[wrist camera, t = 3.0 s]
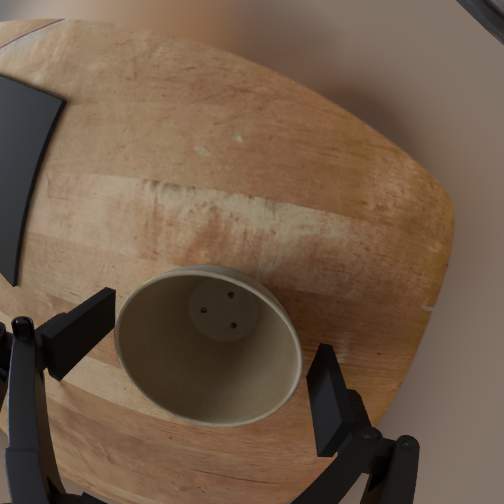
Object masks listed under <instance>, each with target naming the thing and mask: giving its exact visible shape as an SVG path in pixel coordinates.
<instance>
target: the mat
mask: <svg viewBox="0 0 504 504" xmlns="http://www.w3.org/2000/svg"><path fill="white" fill-rule="evenodd" d="M65 104H66V101H65V100H62V99H60V98H57V97H55V96H53V95H50V94H48V93H45V92H43V91H40V90H38V89H35V88H33V87H30V86H27V85H25V84H22V83H20V82H17V81H14V80H11V79H9V78H6V77H3V76H0V273H1V274H2V275H3V276H4V278H5V279H6V280H7V281H8V282H9V283H10V284H11V285H12V286H13V287H15V286H16V285H17V274H18V265H19V257H20V250H21V244H22V238H23V232H24V227H25V222H26V217H27V213H28V208H29V204H30V200H31V196H32V192H33V189H34V185H35V182H36V178H37V175H38V172H39V169H40V166H41V163H42V160H43V157H44V154H45V151H46V148H47V146H48V143H49V140H50V138H51V135H52V133H53V130H54V128H55V126H56V123H57V121H58V119H59V117H60V114H61V112H62V110H63V108H64V106H65Z"/></svg>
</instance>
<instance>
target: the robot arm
mask: <svg viewBox="0 0 504 504" xmlns="http://www.w3.org/2000/svg"><path fill="white" fill-rule="evenodd" d="M484 1H485V2H486V3H487V4H488V5H489V6H490V7H491V8H492V9H493V10H495V11H496V12H497V13H498V14H499V15H500V16H501V17H502V18H504V0H484ZM115 298H116V290H113V289H111V288H108V287H105V288H104V289H102V290H101V291H99V292H98V293H96V294H95V295H93V296H92V297H90V298H89V299H87V300H86V301H84V302H83V303H82V304H80V305H79V306H77V307H76V308H74V309H73V310H71V311H70V312H68V313H65V312H64V313H60V314H57V315H55V316H54V317H52V318H51V319H49V320H48V321H47V322H45V323H44V324H42V325H41V326H39V327H38V328H37V329H35V330H34V324H33V320H32V319H31V318H29V317H25V316H20V317H16V318H15V319H13V320H12V322H11V325H12V330H13V334H12V333H9V332H7V331H6V327H5V324H4V323H2V322H0V411H1V408H2V405H3V401H4V398H5V395H6V392H7V389H8V405H7V422H8V443H9V447H8V448H6V449H5V450H4V459H5V467H6V475H7V482H8V488H9V493H10V498H11V503H3V504H107V503H105V502H103V501H101V500H99V499H97V498H95V497H93V496H91V495H89V494H87V493H85V492H83V494H82V495H81V496H80V495H76V494H68V493H66V491H65V489H64V487H63V484H62V482H61V479H60V476H59V472H58V468H57V464H56V460H55V455H54V450H53V445H52V440H51V434H50V428H49V421H48V413H47V404H46V393H45V377H44V372H43V370H44V369H45V368H48V372H49V375H50V376H51V377H53V378H55V379H56V380H58V381H61V380H62V379H63V377H64V376H65V375H66V374H67V373H68V372H69V371H70V370H71V369H72V368H73V367H74V366H75V365H76V364H77V363H78V362H79V361H80V360H81V359H82V358H83V357H84V356H85V355H86V354H87V353H88V352H89V351H90V350H91V349H92V348H93V347H94V346H95V345H97V344H98V343H99V342H100V341H101V340H102V339H103V338H104V337H105V336H106V335H107V334H108V333H109V332H110V331H111V330H112V329H113V328H114V327H115ZM306 379H307V386H308V392H309V399H310V406H311V412H312V419H313V426H314V434H315V441H316V449H317V457H333V455H334V454H335V453H336V452H338V456H337V457H336V458H335V460H334V461H333V462H332V463H331V464H330V465H329V466H328V467H327V468H326V469H325V471H324V472H323V473H322V474H321V475H320V476H319V477H318V478H317V479H316V480H315V481H314V482H313V483H312V484H311V485H310V486H309V487H308V488H307V489H306V490H305V491H304V492H303V493H301V494H300V495H299V496H298V497H297V498H296V499H295V500H294V501H293V502H292V503H291V504H338V503H339V502H340V501H341V499H342V498H343V497H344V496H345V495H346V493H347V492H348V491H349V489H350V488H351V487H352V486H353V484H354V483H355V482H356V480H357V479H358V477H359V476H360V475H361V473H366V474H369V478H368V481H367V484H366V487H365V490H364V493H363V496H362V499H361V501H360V504H413V499H414V493H415V486H416V479H417V471H418V461H419V449H420V447H419V443H418V441H417V440H416V439H415V438H414V437H412V436H409V435H403V436H400V437H399V438H398V439H397V441H395V440H390V439H386V438H383V436H382V434H381V432H380V431H379V430H377V429H376V428H374V427H372V426H371V423H370V420H369V417H368V415H367V412H366V409H365V406H364V404H363V401H362V398H361V396H360V395H359V394H358V392H357V391H356V390H352V389H347V388H346V385H345V382H344V379H343V376H342V373H341V370H340V367H339V364H338V361H337V358H336V355H335V352H334V350H333V347H332V345H329V344H323V343H320V345H319V348H318V350H317V353H316V355H315V358H314V360H313V362H312V365H311V367H310V369H309V372H308V374H307V376H306Z"/></svg>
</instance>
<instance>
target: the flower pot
mask: <svg viewBox="0 0 504 504" xmlns="http://www.w3.org/2000/svg"><path fill="white" fill-rule="evenodd" d="M230 292H231V295H230V296H228V294H229V293H230ZM203 310H204V311H206V312H204V313H203V312H202V311H203ZM233 323H236V325H237V326H236V325H234V324H233ZM114 340H115V348H116V352H117V355H118V358H119V361H120V364H121V366H122V368H123V370H124V372H125V374H126V375H127V377H128V378H129V380H130V381H131V383H132V384H133V385H134V386H135V388H136V389H137V390H138V391H139V392H140V393H141V394H142V395H143V396H144V397H145V398H146V399H147V400H149V401H150V402H151V403H152V404H154V405H155V406H157V407H158V408H160V409H161V410H163V411H165V412H166V413H168V414H170V415H172V416H174V417H176V418H179V419H181V420H184V421H187V422H190V423H193V424H198V425H203V426H209V427H236V426H242V425H247V424H251V423H254V422H257V421H259V420H262V419H264V418H266V417H268V416H270V415H272V414H273V413H275V412H276V411H277V410H279V409H280V408H281V407H282V406H283V405H285V404H286V402H287V401H288V400H289V399H290V398H291V396H292V395H293V394H294V392H295V391H296V389H297V387H298V385H299V382H300V379H301V375H302V370H303V353H302V348H301V344H300V341H299V337H298V335H297V333H296V330H295V328H294V326H293V324H292V322H291V320H290V318H289V316H288V314H287V313H286V311H285V310H284V308H283V307H282V305H281V304H280V303H279V301H278V300H277V299H276V298H275V297H274V295H273V294H272V293H271V292H270V291H269V290H268V289H267V288H265V287H264V286H263V285H262V284H261V283H259V282H258V281H257V280H255V279H254V278H252V277H250V276H248V275H247V274H245V273H242V272H240V271H238V270H235V269H232V268H228V267H224V266H218V265H192V266H186V267H181V268H177V269H174V270H170V271H168V272H165V273H162V274H160V275H158V276H155V277H153V278H151V279H149V280H147V281H146V282H144V283H143V284H141V285H140V286H138V287H137V288H136V289H135V290H134V291H133V292H132V293H131V294H130V295H129V296H128V297H127V298H126V300H125V301H124V303H123V304H122V306H121V308H120V310H119V312H118V315H117V319H116V323H115V329H114Z"/></svg>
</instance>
